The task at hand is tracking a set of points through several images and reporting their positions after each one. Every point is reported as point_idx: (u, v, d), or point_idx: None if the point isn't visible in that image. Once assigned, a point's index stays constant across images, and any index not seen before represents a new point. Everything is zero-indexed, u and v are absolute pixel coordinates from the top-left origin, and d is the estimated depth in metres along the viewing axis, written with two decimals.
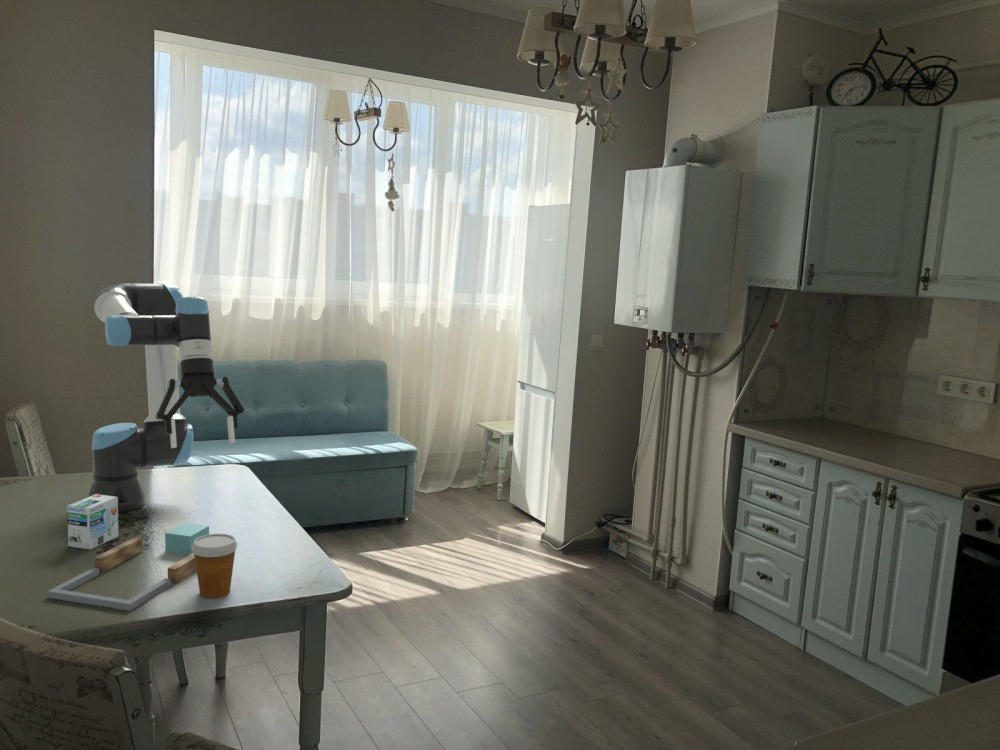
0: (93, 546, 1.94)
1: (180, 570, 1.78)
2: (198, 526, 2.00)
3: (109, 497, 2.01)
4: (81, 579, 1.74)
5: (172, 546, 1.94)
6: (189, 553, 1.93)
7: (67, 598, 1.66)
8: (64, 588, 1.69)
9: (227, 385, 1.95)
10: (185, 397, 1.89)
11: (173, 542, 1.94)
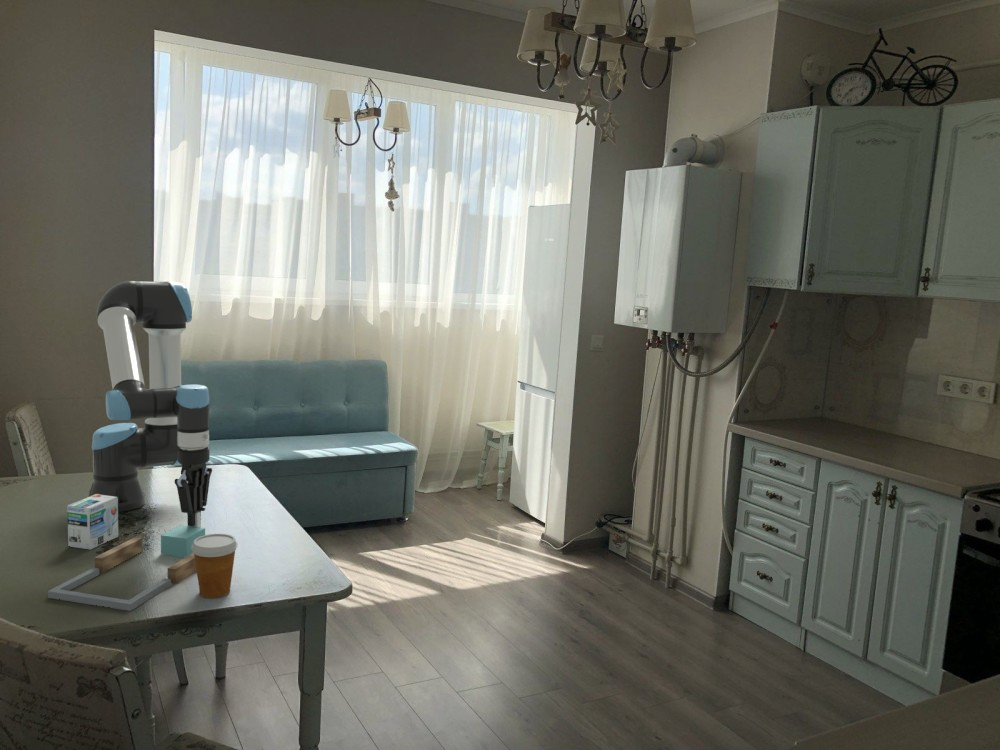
0: (93, 546, 1.94)
1: (180, 570, 1.78)
2: (194, 528, 1.98)
3: (109, 497, 2.01)
4: (81, 579, 1.74)
5: (168, 549, 1.92)
6: (185, 555, 1.91)
7: (67, 598, 1.66)
8: (64, 588, 1.69)
9: (209, 476, 2.03)
10: (196, 487, 1.97)
11: (168, 545, 1.92)
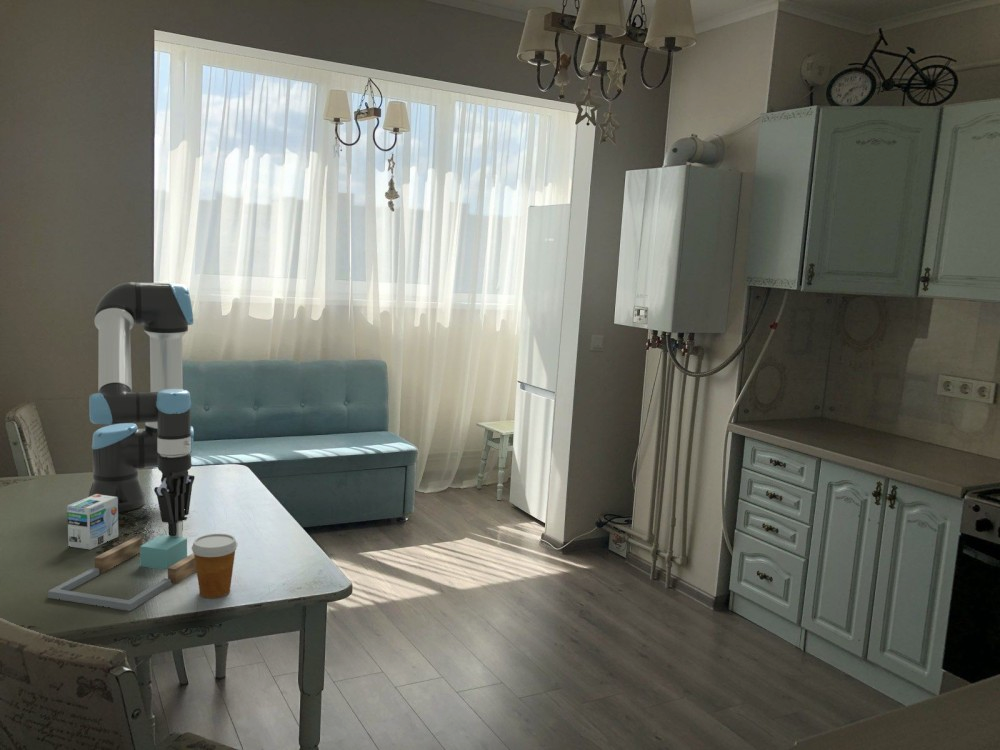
0: (93, 546, 1.94)
1: (180, 570, 1.78)
2: (175, 538, 1.90)
3: (109, 497, 2.01)
4: (81, 579, 1.74)
5: (147, 560, 1.85)
6: (165, 567, 1.84)
7: (67, 598, 1.66)
8: (64, 588, 1.69)
9: (191, 484, 1.95)
10: (177, 496, 1.90)
11: (148, 556, 1.85)
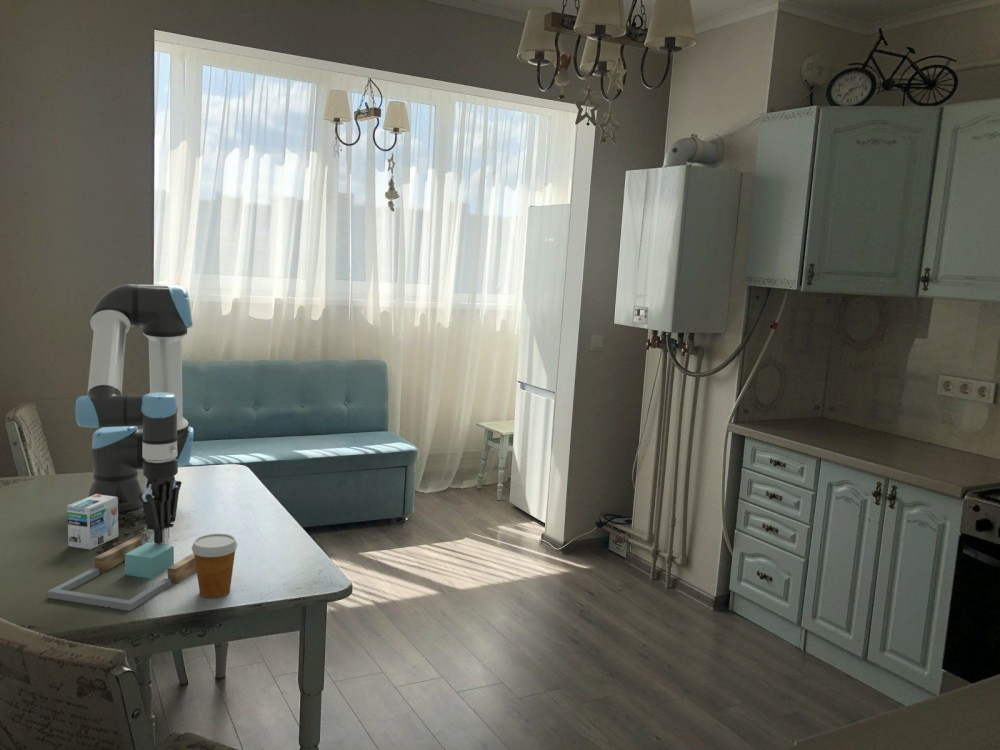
0: (93, 546, 1.94)
1: (180, 570, 1.78)
2: (161, 546, 1.85)
3: (109, 497, 2.01)
4: (81, 579, 1.74)
5: (132, 569, 1.79)
6: (151, 576, 1.79)
7: (67, 598, 1.66)
8: (64, 588, 1.69)
9: (178, 490, 1.90)
10: (163, 502, 1.84)
11: (133, 564, 1.79)
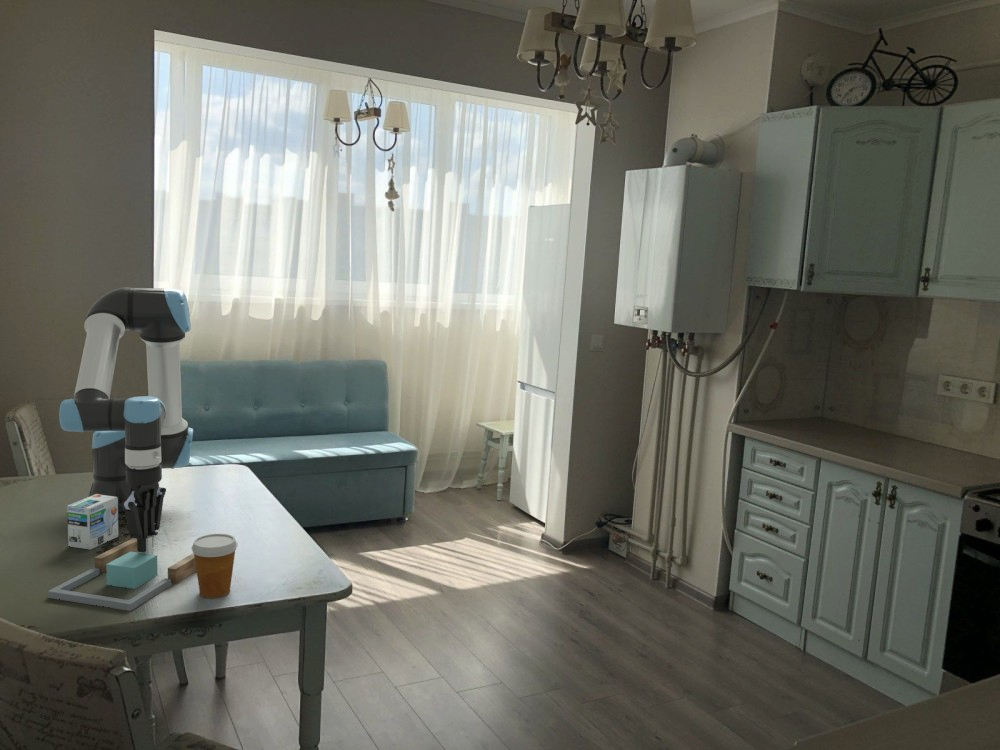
0: (93, 546, 1.94)
1: (180, 570, 1.78)
2: (145, 555, 1.79)
3: (109, 497, 2.01)
4: (81, 579, 1.74)
5: (114, 579, 1.74)
6: (133, 587, 1.73)
7: (67, 598, 1.66)
8: (64, 588, 1.69)
9: (162, 497, 1.84)
10: (146, 510, 1.79)
11: (115, 575, 1.74)
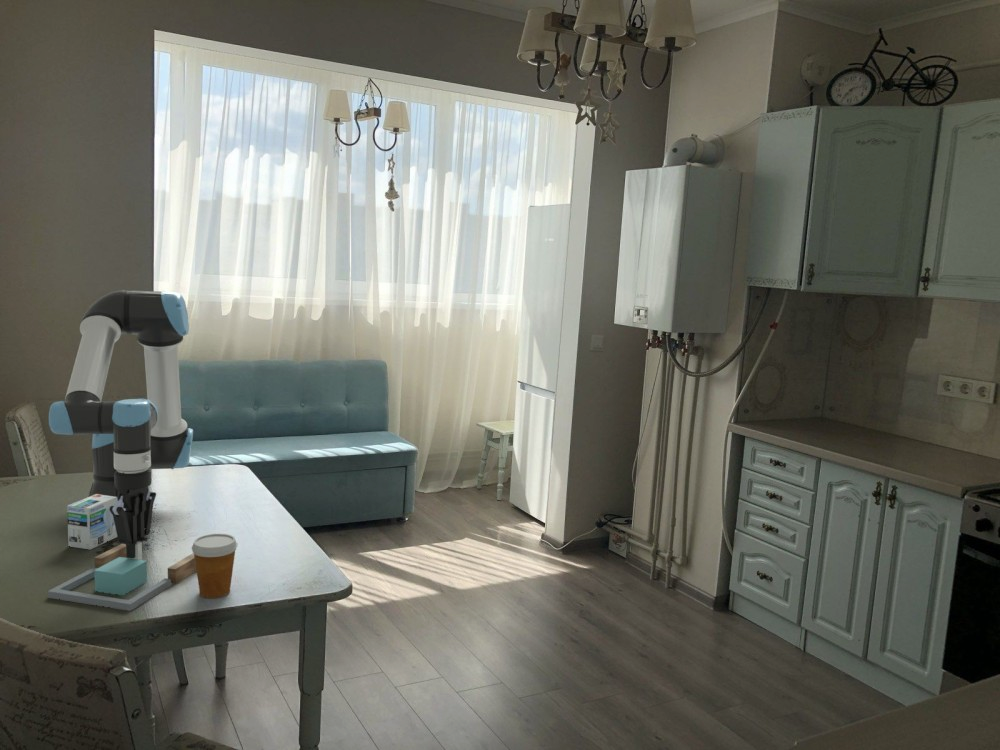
0: (93, 546, 1.94)
1: (180, 570, 1.78)
2: (134, 561, 1.76)
3: (109, 497, 2.01)
4: (81, 579, 1.74)
5: (102, 585, 1.70)
6: (121, 593, 1.69)
7: (67, 598, 1.66)
8: (64, 588, 1.69)
9: (152, 502, 1.81)
10: (135, 515, 1.75)
11: (103, 581, 1.70)
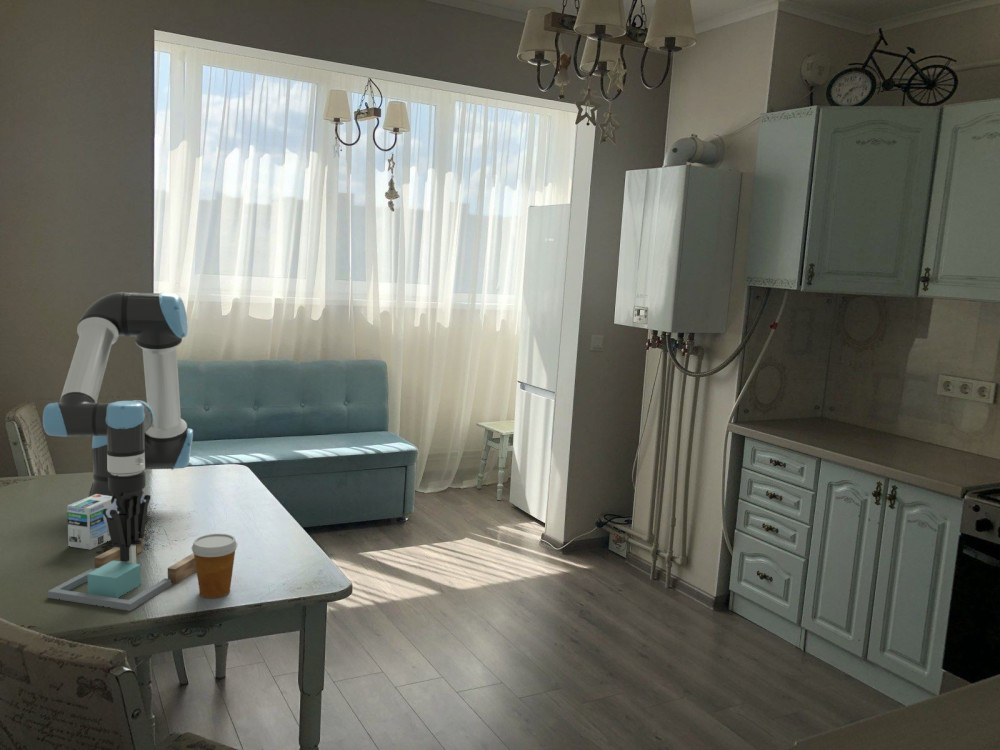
0: (93, 546, 1.94)
1: (180, 570, 1.78)
2: (127, 565, 1.74)
3: (109, 497, 2.01)
4: (81, 579, 1.74)
5: (95, 589, 1.68)
6: (115, 597, 1.68)
7: (67, 598, 1.66)
8: (64, 588, 1.69)
9: (146, 504, 1.79)
10: (129, 518, 1.73)
11: (96, 585, 1.68)
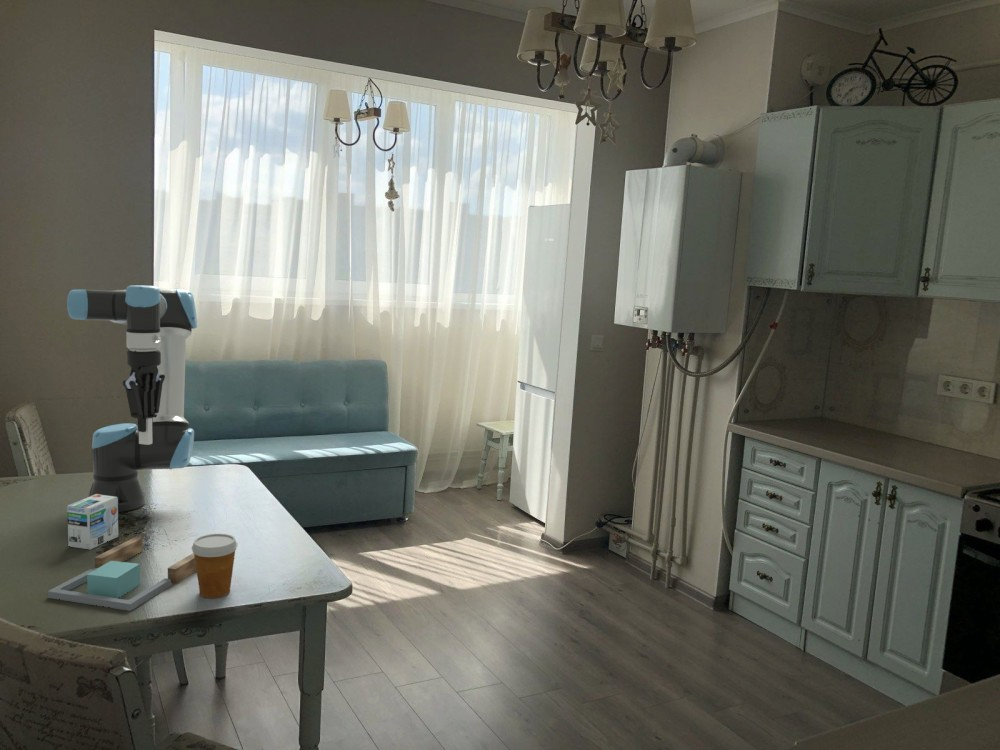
0: (93, 546, 1.94)
1: (180, 570, 1.78)
2: (127, 564, 1.74)
3: (109, 497, 2.01)
4: (81, 579, 1.74)
5: (95, 590, 1.68)
6: (116, 597, 1.68)
7: (67, 598, 1.66)
8: (64, 588, 1.69)
9: (161, 383, 1.97)
10: (146, 391, 1.91)
11: (96, 585, 1.68)
